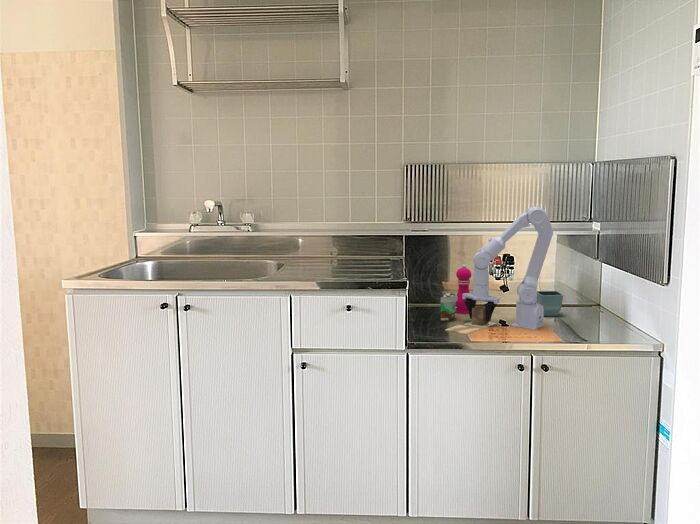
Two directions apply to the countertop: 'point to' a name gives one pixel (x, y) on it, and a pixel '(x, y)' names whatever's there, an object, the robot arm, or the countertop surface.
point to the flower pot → (550, 302)
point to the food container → (448, 306)
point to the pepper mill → (462, 289)
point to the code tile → (480, 325)
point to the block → (479, 316)
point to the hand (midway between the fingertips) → (480, 319)
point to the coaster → (462, 329)
